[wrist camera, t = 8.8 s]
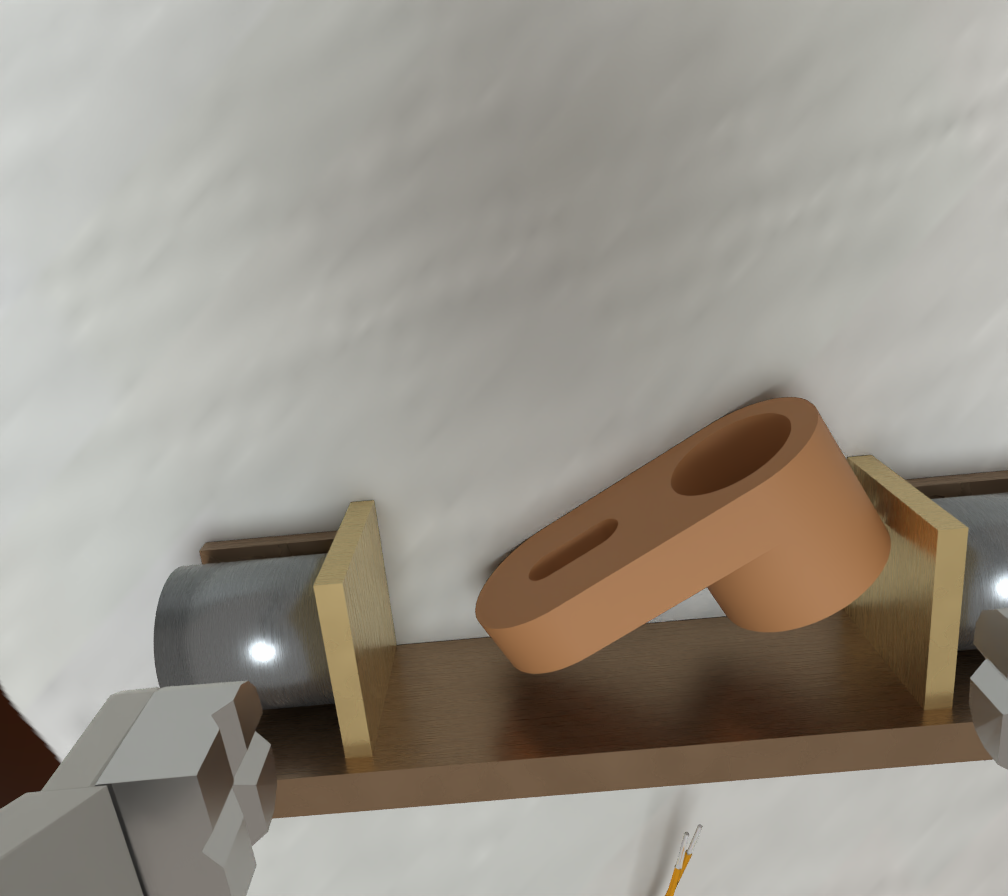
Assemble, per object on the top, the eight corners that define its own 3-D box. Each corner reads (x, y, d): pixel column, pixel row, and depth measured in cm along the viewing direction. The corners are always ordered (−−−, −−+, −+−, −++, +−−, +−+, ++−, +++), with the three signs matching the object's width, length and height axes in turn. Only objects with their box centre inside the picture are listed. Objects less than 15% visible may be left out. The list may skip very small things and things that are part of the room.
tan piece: (848, 430, 32) (925, 562, 34) (780, 380, 40) (845, 489, 42) (472, 657, 35) (561, 767, 37) (477, 569, 43) (550, 663, 45)
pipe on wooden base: (180, 517, 42) (88, 617, 33) (1048, 439, 41) (1213, 518, 32) (221, 692, 46) (149, 828, 36) (1026, 623, 45) (1169, 744, 35)
